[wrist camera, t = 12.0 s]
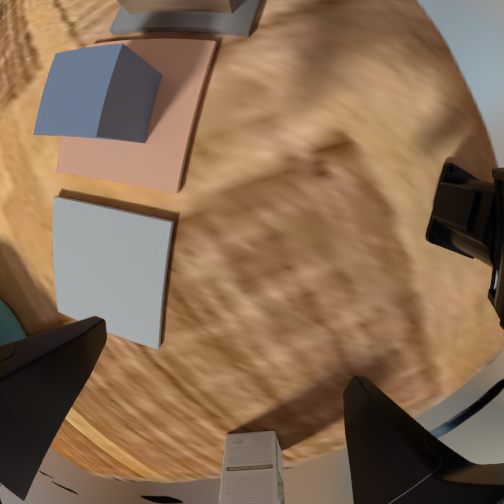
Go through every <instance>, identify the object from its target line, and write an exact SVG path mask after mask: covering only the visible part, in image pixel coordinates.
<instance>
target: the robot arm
mask: <svg viewBox="0 0 504 504" xmlns="http://www.w3.org/2000/svg"><path fill="white" fill-rule="evenodd" d="M449 167H450V171H449ZM492 175H493V178H494V183H490V182H484V181H480V180H478V179H477V178H475V177H474V176H472V175H471V174H469V173H467V172H466V171H464V170H463V169H461V168H459V167H458V166H456V165H454V164H453V163H448V162H447V163H445V164H444V167H443V172H442V176H441V181H440V184H439V188H438V192H437V196H436V200H435V204H434V208H433V211H432V216H431V219H430V222H429V226H428V229H427V232H426V240H427V241H428V242H430V243H432V244H435V245H438V246H441V247H443V248H446V249H449V250H451V251H454V252H456V253H459V254H461V255H464V256H466V257H469V258H471V259H473V258H477V259H478V260H480V261H482V262H484V263H485V264H487V265H489V266H491V267H492V268H493V270H492V279H491V286H490V289H489V291H488V299H489V300H490V302H491V304H492V305H493V307H494V308H495V310H496V312H497V315H498V317H499V318H500V323H499V324H500V326H501V327H502V328H503V329H504V168H494V169H492ZM432 234H433V237H432V238H431V235H432ZM106 340H107V332H106V321H105V320H104V319H103V318H100V317H98V316H92V317H89V318H86V319H83V320H80V321H77V322H74V323H71V324H68V325H65V326H62V327H59V328H55V329H52V330H49V331H46V332H43V333H40V334H37V335H34V336H30V337H27V338H24V339H21V340H18V341H15V342H11V343H8V344H5V345H1V346H0V486H1V484H2V485H4V486H5V487H6V488H7V489H8V490H10V491H11V492H12V493H14V494H15V495H16V496H18V497H19V498H20V499H22V500H23V501H24V500H25V498H26V496H27V493H28V491H29V489H30V486H31V484H32V482H33V480H34V478H35V476H36V474H37V471H38V469H39V467H40V465H41V463H42V461H43V458H44V457H45V455H46V453H47V451H48V449H49V447H50V445H51V443H52V441H53V439H54V437H55V435H56V434H57V432H58V430H59V428H60V426H61V424H62V423H63V421H64V419H65V417H66V415H67V414H68V412H69V410H70V408H71V407H72V405H73V403H74V402H75V400H76V398H77V397H78V395H79V393H80V391H81V390H82V388H83V387H84V385H85V383H86V382H87V380H88V378H89V377H90V375H91V373H92V371H93V369H94V367H95V364H96V362H97V360H98V358H99V356H100V354H101V352H102V350H103V348H104V346H105V344H106ZM343 401H344V425H345V435H346V442H347V449H348V456H349V464H350V472H351V481H352V490H353V500H354V504H504V463H500V464H486V465H480V464H475V463H472V462H470V461H468V460H467V459H465V458H464V457H462V456H461V455H459V454H458V453H456V452H454V451H453V450H452V449H450V448H449V447H448V446H446V445H445V444H444V443H442V442H441V441H439V440H438V439H437V438H436V437H435V436H433V435H432V434H431V433H430V432H429V431H427V430H426V429H424V427H422V426H421V425H420V424H419V423H418V422H417V421H416V420H414V419H413V418H412V417H411V416H410V415H409V414H407V413H406V412H405V411H404V410H403V409H402V408H401V407H399V406H398V405H397V404H396V403H395V402H394V401H392V400H391V399H390V398H389V397H388V396H387V395H386V394H384V393H383V392H382V391H381V390H380V389H379V388H378V387H376V386H375V385H374V384H373V383H372V382H371V381H370V380H369V379H367V378H366V377H365V376H358V375H356V376H354V377H353V378H352V379H351V381H350V382H349V384H348V386H347V387H346V389H345V391H344V394H343ZM0 504H2V502H1V500H0Z"/></svg>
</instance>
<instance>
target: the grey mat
mask: <svg viewBox="0 0 504 504" xmlns="http://www.w3.org/2000/svg"><path fill="white" fill-rule="evenodd" d="M173 226H174V221H173V220H168V219H164V218H159V217H155V216H150V215H146V214H141V213H137V212H132V211H127V210H123V209H118V208H114V207H109V206H104V205H100V204H95V203H90V202H86V201H81V200H76V199H71V198H67V197H62V196H55V197H54V203H53V266H54V280H55V291H56V300H57V308H58V312H60V313H62V314H65V315H67V316H69V317H71V318H74V319H76V320H78V321H80V320H83V319H86V318H89V317H92V316H98V317H100V318H103V319H104V320H105V321H106V332H108V333H111V334H114V335H116V336H119V337H122V338H125V339H128V340H130V341H133V342H136V343H139V344H142V345H145V346H149V347H152V348H155V349H159V347H160V345H161V330H162V317H163V305H164V295H165V285H166V277H167V268H168V260H169V253H170V246H171V239H172V232H173Z"/></svg>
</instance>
